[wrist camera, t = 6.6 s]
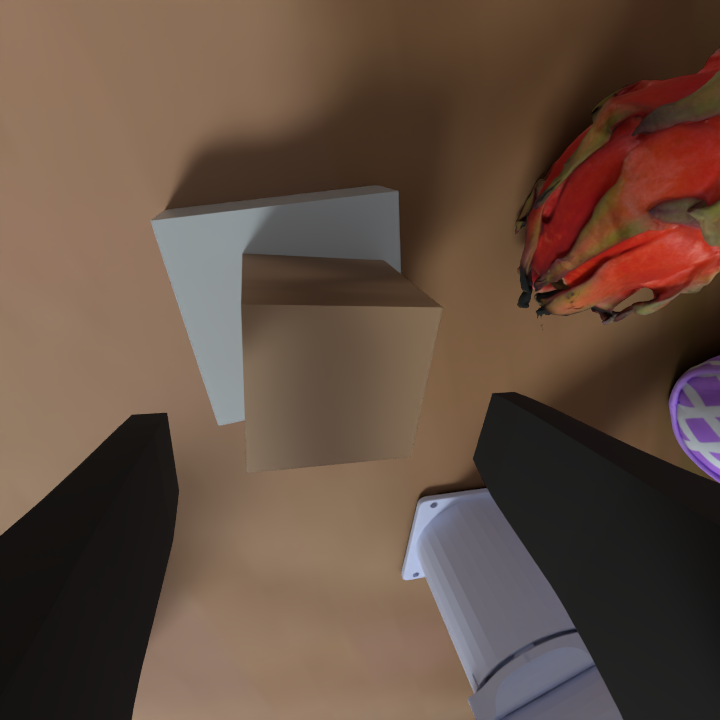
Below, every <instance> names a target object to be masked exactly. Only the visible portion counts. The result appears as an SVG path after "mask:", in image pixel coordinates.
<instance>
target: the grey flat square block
mask: <svg viewBox="0 0 720 720" xmlns="http://www.w3.org/2000/svg"><path fill="white" fill-rule="evenodd" d="M151 224H152V227H153V230H154V233H155V236H156V239H157V242H158V245H159V248H160V251H161V254H162V257H163V260H164V263H165V266H166V269H167V272H168V276H169V279H170V282H171V285H172V288H173V291H174V294H175V297H176V300H177V303H178V306H179V309H180V312H181V315H182V318H183V321H184V324H185V327H186V330H187V333H188V336H189V339H190V342H191V345H192V348H193V351H194V354H195V357H196V360H197V363H198V366H199V369H200V372H201V375H202V378H203V381H204V384H205V387H206V390H207V393H208V396H209V399H210V402H211V405H212V408H213V411H214V414H215V417H216V420H217V423H218V426H220V425H225V424H229V423H234V422H239V421H243V420H245V410H244V380H243V350H242V319H241V286H242V253H246V254H266V255H286V256H306V257H327V258H347V259H367V260H384V261H386V262H387V263H388V264H389V265H391V266H392V267H393V268H394V269H396V270H397V271H398V272H399V273H401V260H400V226H399V192H398V191H397V190H393V189H390V188H386V187H383V186H379V185H373V186H364V187H355V188H347V189H338V190H330V191H321V192H313V193H304V194H295V195H287V196H278V197H270V198H261V199H252V200H244V201H235V202H227V203H218V204H209V205H201V206H192V207H184V208H175V209H167V210H164V211H163V212H161V213H160V214H159V215H157V216H156V217H155V218H153V219H152V220H151Z"/></svg>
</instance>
